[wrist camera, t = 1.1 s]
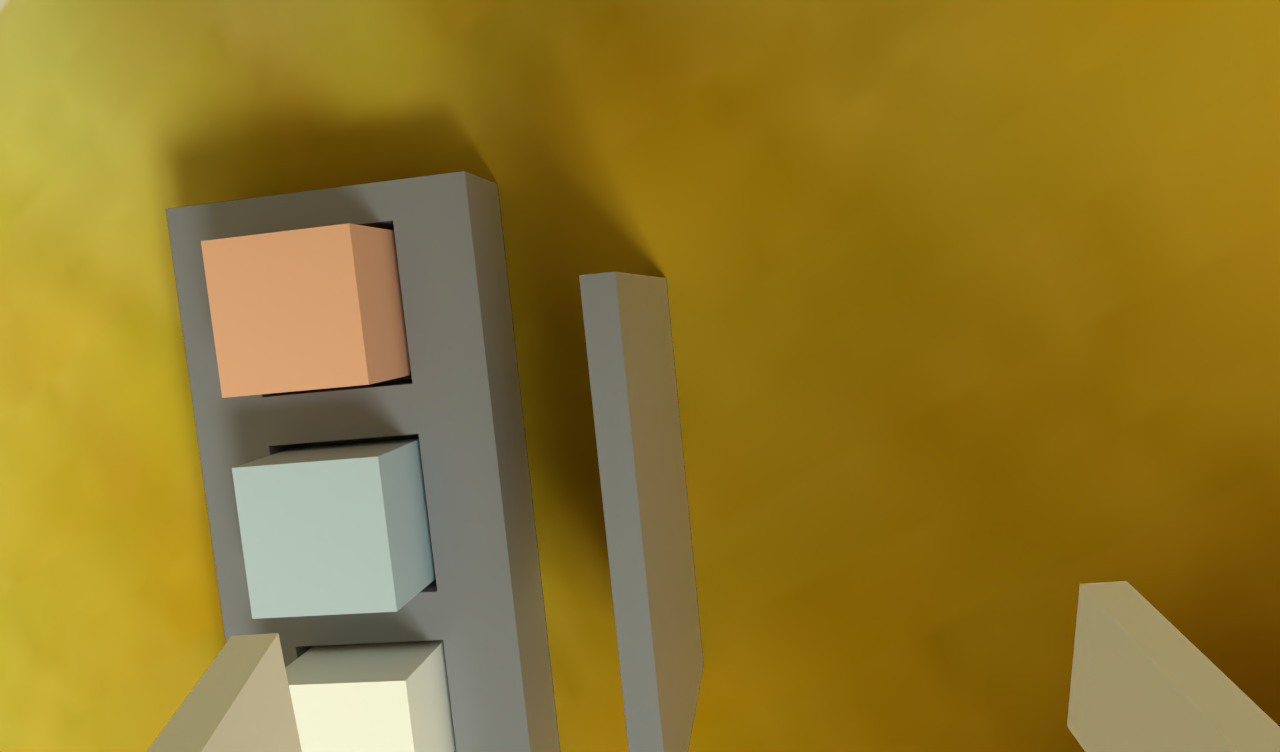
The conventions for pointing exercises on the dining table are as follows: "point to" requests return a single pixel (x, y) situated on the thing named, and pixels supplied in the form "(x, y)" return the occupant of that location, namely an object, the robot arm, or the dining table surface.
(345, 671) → the offwhite key
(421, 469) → the slate key
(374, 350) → the terracotta key
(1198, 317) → the dining table surface
